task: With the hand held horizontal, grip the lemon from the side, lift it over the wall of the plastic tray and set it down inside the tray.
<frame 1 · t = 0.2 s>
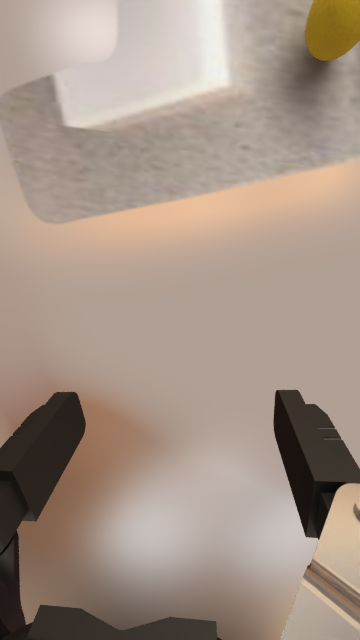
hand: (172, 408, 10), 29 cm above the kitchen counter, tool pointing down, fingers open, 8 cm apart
lemon: (320, 44, 28), on the kitchen counter
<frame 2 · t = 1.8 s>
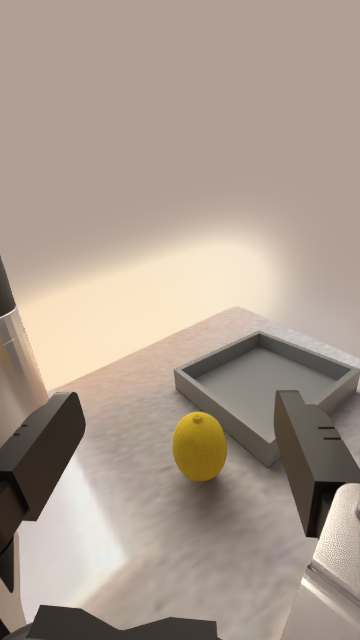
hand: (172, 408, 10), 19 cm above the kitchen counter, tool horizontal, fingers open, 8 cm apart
lemon: (201, 474, 28), on the kitchen counter
tray: (261, 389, 40), on the kitchen counter
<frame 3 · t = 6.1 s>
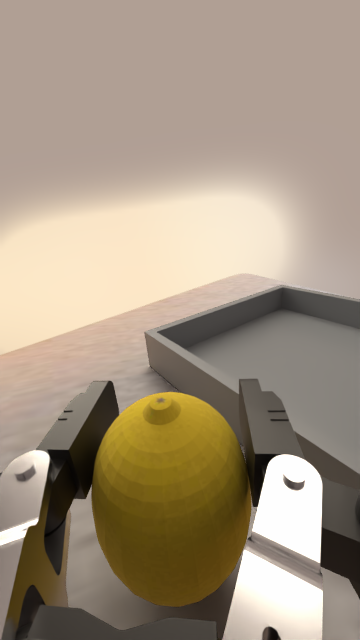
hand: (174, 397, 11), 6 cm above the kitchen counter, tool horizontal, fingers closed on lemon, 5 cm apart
lemon: (182, 554, 11), on the kitchen counter, touching gripper
tray: (296, 364, 23), on the kitchen counter
when the fingers open (8 cm above the kitchen counter, at t = 11.8 s): lemon drops 1 cm, resting on tray.
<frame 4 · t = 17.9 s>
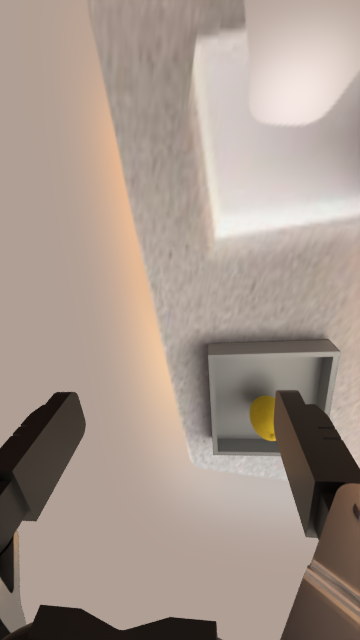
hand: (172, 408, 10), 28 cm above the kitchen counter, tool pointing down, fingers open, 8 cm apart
lemon: (262, 398, 43), point 1 cm above the kitchen counter, touching tray
tray: (264, 394, 43), on the kitchen counter
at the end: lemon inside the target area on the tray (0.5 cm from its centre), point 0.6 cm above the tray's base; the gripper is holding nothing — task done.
